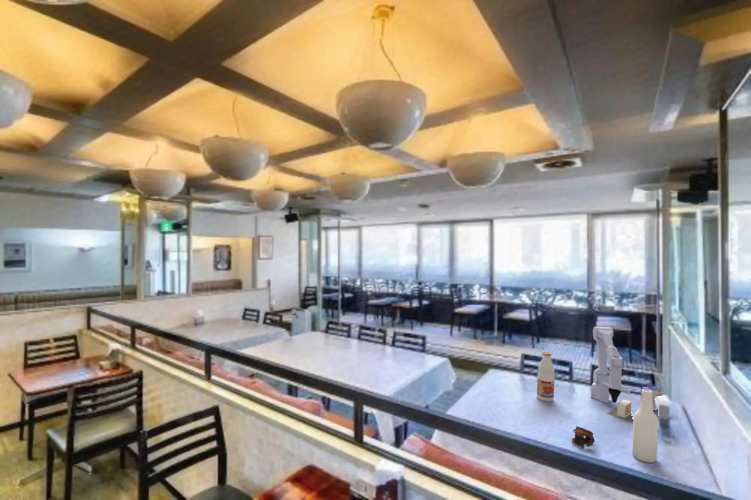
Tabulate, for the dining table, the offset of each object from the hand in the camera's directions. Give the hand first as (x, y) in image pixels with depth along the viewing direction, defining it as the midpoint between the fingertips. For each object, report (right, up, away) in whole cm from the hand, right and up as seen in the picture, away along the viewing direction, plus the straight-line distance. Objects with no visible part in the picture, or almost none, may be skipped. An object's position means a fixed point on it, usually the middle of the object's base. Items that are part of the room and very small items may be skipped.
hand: (614, 402), depth 214 cm
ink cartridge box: (+25, -7, +6) cm, 27 cm away
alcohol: (-16, -6, -47) cm, 50 cm away
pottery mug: (-37, -5, -37) cm, 53 cm away
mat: (+4, -6, -4) cm, 8 cm away
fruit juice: (-32, -5, +16) cm, 36 cm away
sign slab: (+3, -5, -4) cm, 7 cm away
